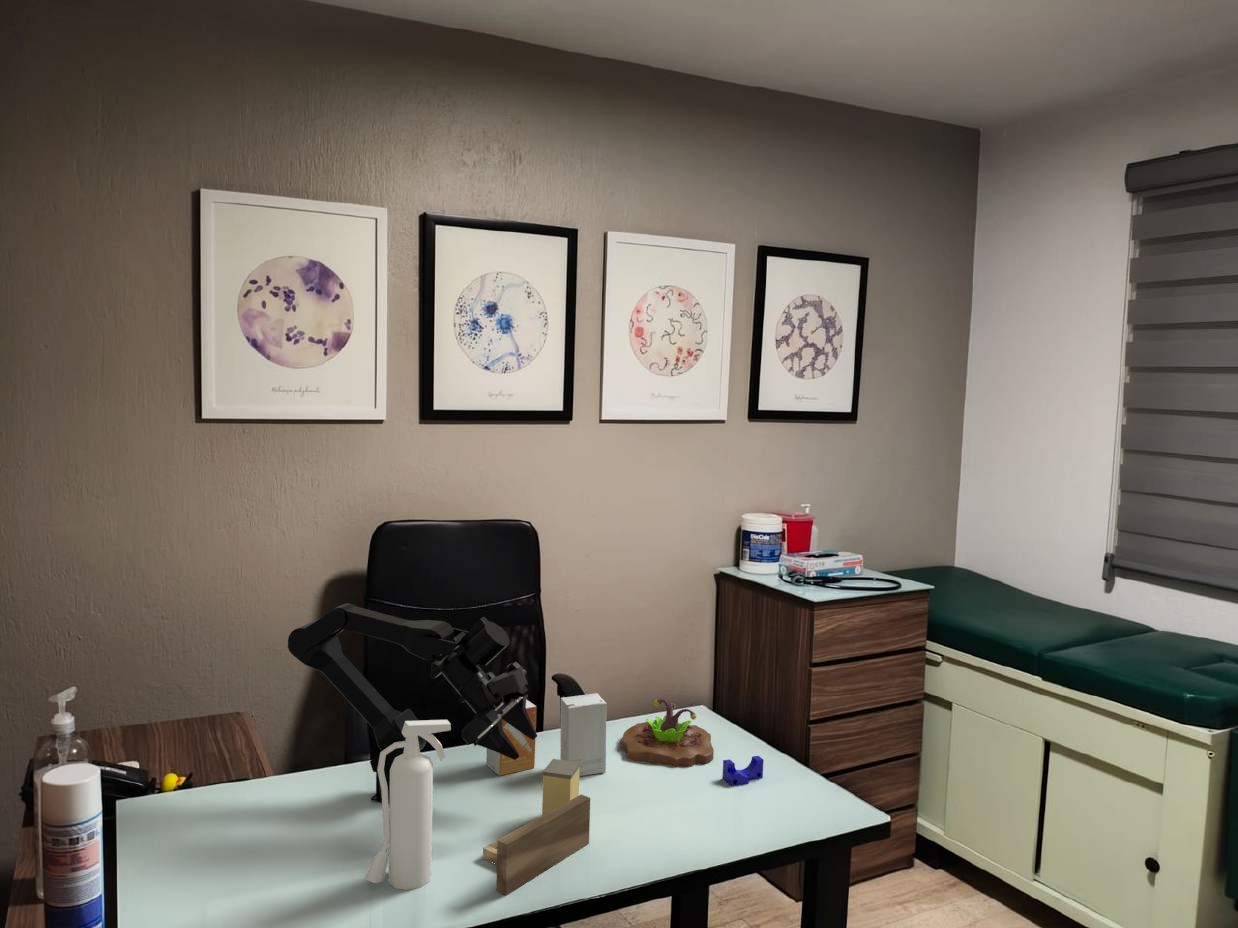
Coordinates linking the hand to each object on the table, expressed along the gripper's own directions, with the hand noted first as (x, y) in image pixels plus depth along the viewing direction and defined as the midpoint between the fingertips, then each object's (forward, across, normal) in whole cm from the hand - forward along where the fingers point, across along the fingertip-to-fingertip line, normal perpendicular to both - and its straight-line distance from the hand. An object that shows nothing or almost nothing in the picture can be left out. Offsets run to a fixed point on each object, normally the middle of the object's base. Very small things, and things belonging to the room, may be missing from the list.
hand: (526, 747), depth 155 cm
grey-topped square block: (+14, 0, +4) cm, 14 cm away
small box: (+2, +18, +16) cm, 25 cm away
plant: (+22, +38, -4) cm, 44 cm away
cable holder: (+35, +27, -16) cm, 47 cm away
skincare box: (+12, +21, +6) cm, 25 cm away
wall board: (+12, -13, +6) cm, 19 cm away
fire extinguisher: (+1, -24, +16) cm, 30 cm away
